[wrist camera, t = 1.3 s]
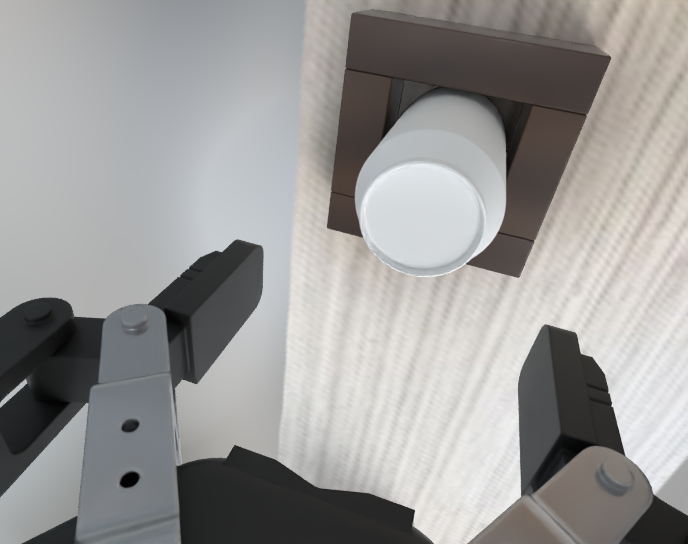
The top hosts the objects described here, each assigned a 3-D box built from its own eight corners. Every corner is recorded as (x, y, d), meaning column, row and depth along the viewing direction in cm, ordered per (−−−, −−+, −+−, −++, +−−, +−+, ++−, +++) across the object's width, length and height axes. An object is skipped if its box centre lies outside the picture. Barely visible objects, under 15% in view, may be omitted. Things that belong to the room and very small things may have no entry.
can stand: (371, 8, 25) (351, 12, 22) (597, 46, 23) (612, 56, 19) (345, 203, 31) (326, 228, 28) (517, 246, 29) (519, 278, 26)
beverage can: (530, 124, 25) (545, 211, 16) (459, 205, 29) (436, 316, 19) (440, 58, 25) (399, 106, 15) (380, 149, 29) (316, 233, 19)
